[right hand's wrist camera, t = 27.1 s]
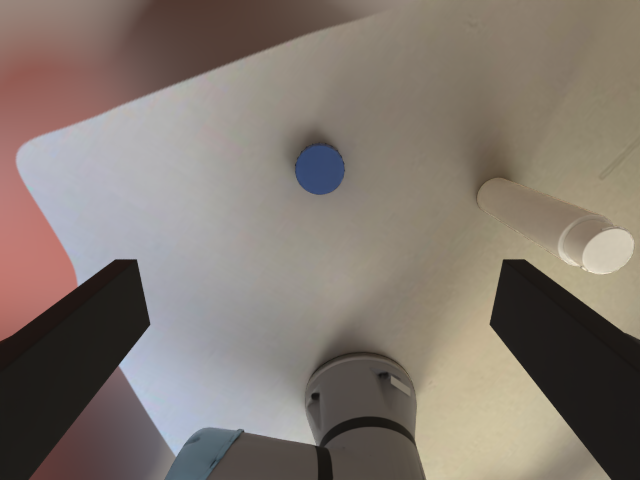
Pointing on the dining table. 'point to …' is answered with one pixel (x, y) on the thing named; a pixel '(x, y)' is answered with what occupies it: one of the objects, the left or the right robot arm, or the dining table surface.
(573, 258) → the jar
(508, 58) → the dining table surface
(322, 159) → the lid
